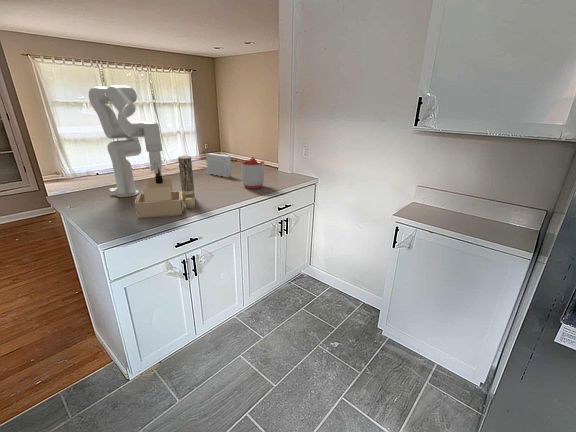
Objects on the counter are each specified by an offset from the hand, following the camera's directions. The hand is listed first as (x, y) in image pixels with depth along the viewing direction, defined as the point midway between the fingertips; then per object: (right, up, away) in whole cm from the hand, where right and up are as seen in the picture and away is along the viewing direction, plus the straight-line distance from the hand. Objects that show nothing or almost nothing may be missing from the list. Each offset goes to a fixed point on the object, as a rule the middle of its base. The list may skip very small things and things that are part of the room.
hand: (159, 183), depth 156 cm
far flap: (0, -4, +2) cm, 5 cm away
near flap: (+5, -10, -13) cm, 17 cm away
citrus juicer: (+45, +3, +46) cm, 64 cm away
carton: (+2, -15, -3) cm, 15 cm away
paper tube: (+10, -8, +17) cm, 21 cm away
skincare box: (+14, +14, +73) cm, 76 cm away
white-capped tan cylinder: (+15, -13, +5) cm, 20 cm away
